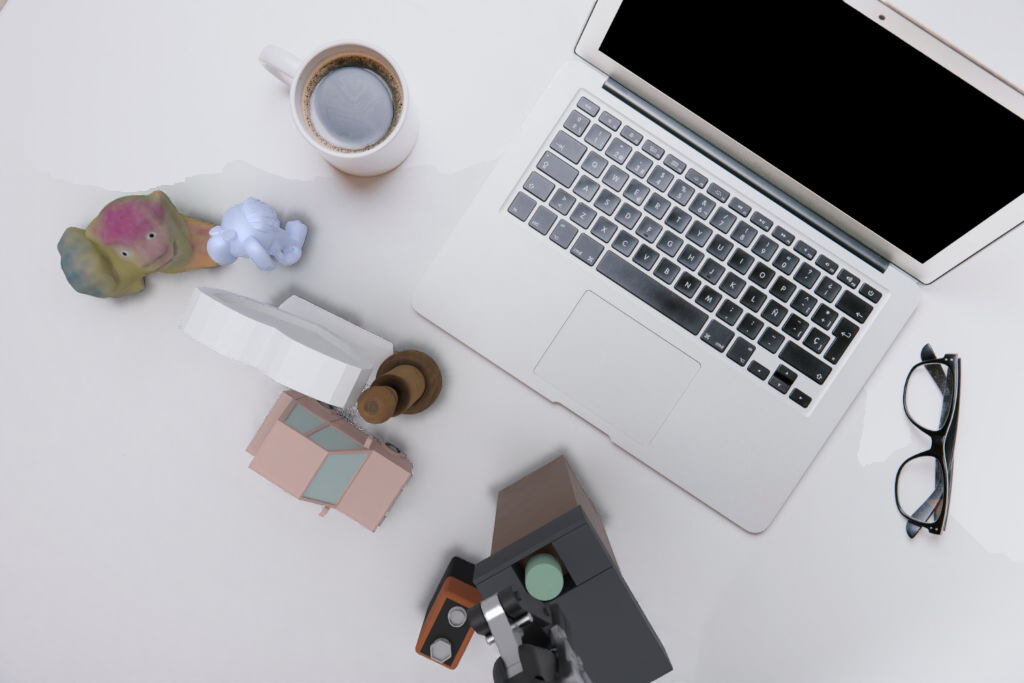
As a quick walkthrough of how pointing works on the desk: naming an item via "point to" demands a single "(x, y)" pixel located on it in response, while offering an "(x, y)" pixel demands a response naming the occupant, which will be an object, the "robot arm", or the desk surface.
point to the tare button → (543, 577)
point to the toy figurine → (256, 236)
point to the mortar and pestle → (401, 387)
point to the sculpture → (133, 246)
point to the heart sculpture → (289, 343)
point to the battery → (449, 616)
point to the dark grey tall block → (573, 573)
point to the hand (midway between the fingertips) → (548, 620)
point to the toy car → (328, 460)
